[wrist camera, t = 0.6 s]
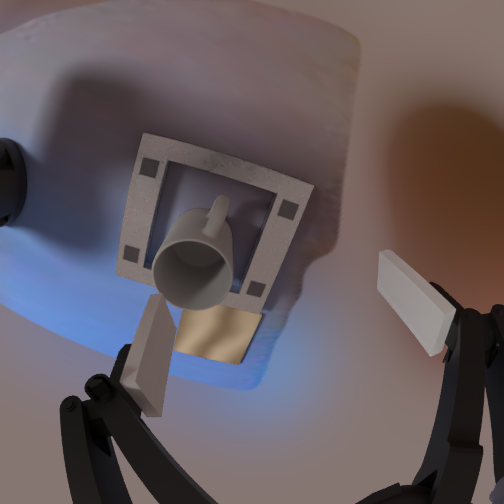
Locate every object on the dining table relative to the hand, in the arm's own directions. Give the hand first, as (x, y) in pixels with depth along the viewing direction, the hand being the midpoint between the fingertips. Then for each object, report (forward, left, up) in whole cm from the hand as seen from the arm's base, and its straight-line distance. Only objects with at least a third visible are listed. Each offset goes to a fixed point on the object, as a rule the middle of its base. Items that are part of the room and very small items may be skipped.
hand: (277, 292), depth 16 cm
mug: (-4, -5, -22) cm, 23 cm away
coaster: (+2, -22, -22) cm, 31 cm away
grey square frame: (-4, -5, -22) cm, 23 cm away
